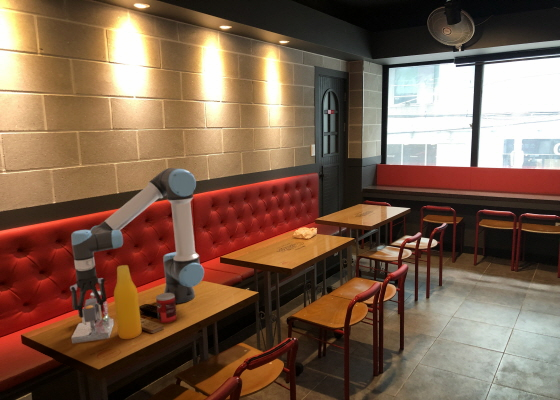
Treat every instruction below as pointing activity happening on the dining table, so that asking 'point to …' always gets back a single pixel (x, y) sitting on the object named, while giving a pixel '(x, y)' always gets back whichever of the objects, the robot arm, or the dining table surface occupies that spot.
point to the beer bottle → (126, 305)
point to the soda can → (105, 308)
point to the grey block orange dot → (90, 311)
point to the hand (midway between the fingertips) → (92, 321)
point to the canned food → (166, 307)
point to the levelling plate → (93, 330)
